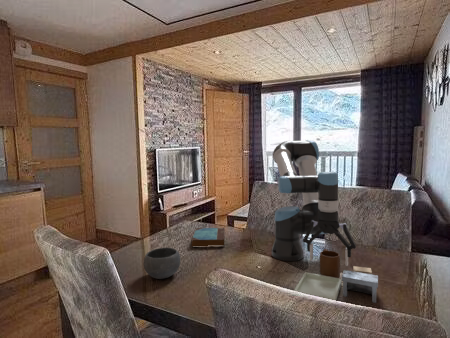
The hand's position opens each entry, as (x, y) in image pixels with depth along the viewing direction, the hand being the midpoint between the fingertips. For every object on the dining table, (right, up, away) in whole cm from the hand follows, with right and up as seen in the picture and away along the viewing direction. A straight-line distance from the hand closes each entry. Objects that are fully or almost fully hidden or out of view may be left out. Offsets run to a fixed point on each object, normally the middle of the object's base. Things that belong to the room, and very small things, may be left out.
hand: (328, 262), depth 115 cm
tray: (-8, -6, -12) cm, 16 cm away
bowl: (-68, -7, +4) cm, 69 cm away
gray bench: (+5, -6, -15) cm, 17 cm away
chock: (+9, -6, -9) cm, 14 cm away
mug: (0, -5, +1) cm, 5 cm away
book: (-51, -4, +47) cm, 70 cm away
